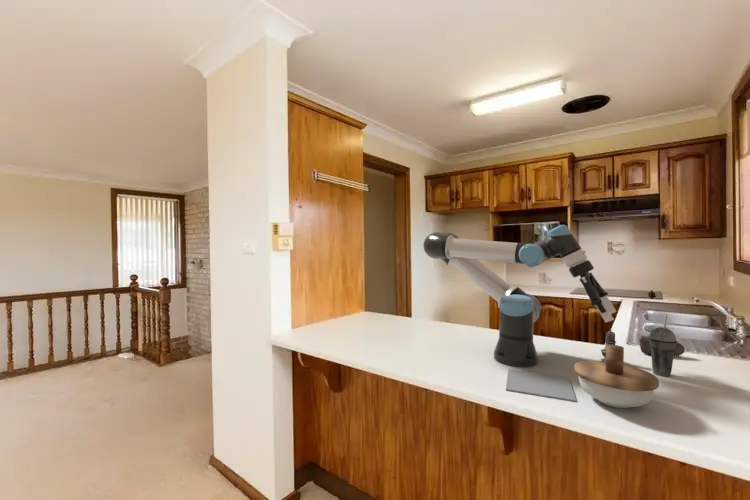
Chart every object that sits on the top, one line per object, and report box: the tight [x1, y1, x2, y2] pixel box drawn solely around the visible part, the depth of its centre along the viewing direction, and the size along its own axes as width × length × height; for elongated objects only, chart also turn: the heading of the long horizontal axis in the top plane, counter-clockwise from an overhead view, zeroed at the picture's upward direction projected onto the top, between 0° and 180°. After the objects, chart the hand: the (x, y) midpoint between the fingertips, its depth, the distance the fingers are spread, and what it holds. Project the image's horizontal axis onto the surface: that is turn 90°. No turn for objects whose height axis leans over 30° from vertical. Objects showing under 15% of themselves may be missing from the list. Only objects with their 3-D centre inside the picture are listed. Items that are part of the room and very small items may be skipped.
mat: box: [505, 368, 577, 403], centre depth 107 cm, size 18×18×1 cm
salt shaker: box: [600, 328, 617, 361], centre depth 128 cm, size 6×6×12 cm
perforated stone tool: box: [638, 335, 686, 357], centre depth 136 cm, size 15×5×7 cm, turn 69°
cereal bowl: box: [577, 375, 654, 409], centre depth 95 cm, size 17×17×7 cm
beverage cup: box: [648, 314, 678, 378], centre depth 116 cm, size 7×7×20 cm
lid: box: [573, 344, 660, 391], centre depth 95 cm, size 19×19×8 cm
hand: (611, 317), depth 123 cm, fingers open, 13 cm apart
